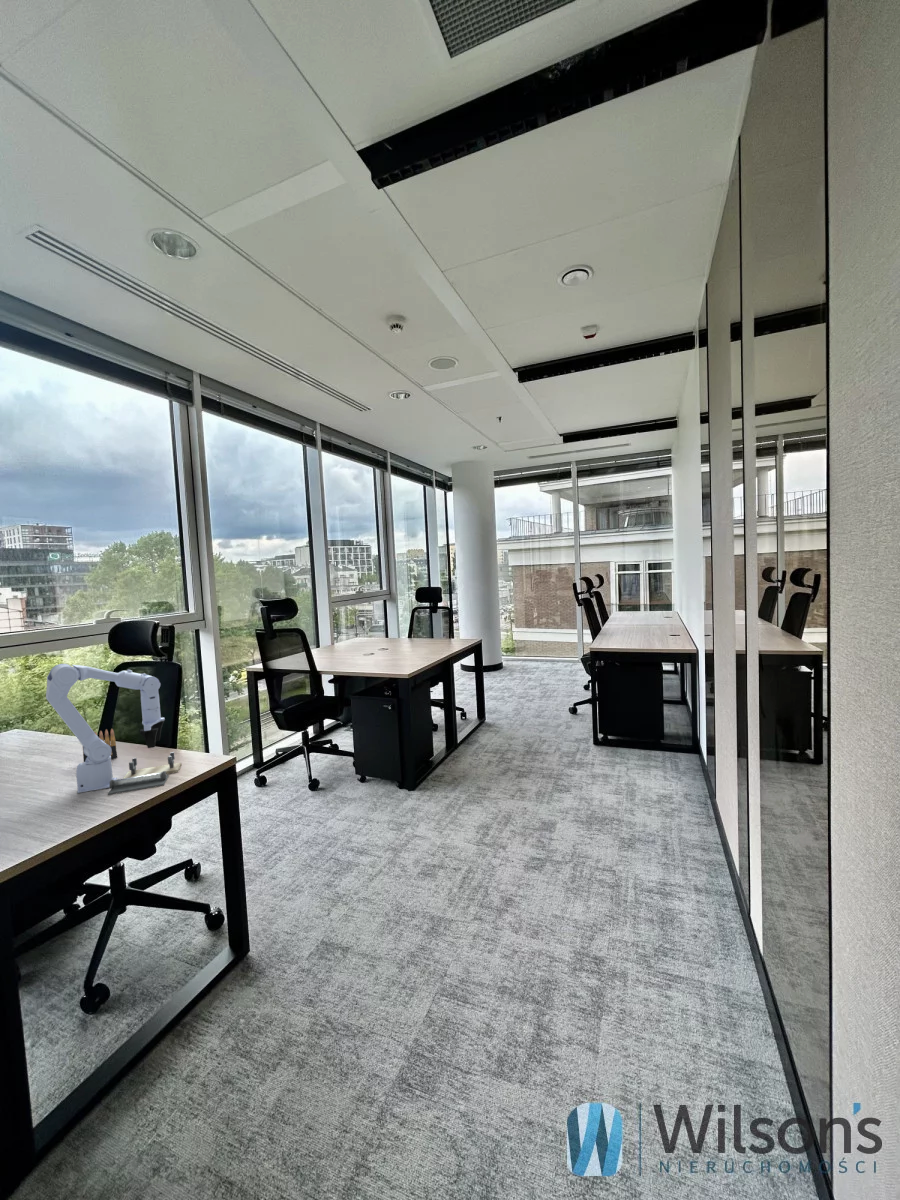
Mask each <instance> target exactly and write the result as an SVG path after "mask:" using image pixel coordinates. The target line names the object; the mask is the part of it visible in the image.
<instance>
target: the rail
mask: <svg viewBox="0 0 900 1200" xmlns="http://www.w3.org/2000/svg"><path fill="white" fill-rule="evenodd" d="M166 775H167V774H166V771H163V772H160V773H154V774H148V775H142V776H136V777H130V778H124V777H123V778H124V779H123V778H117V780H110V788H109V790H111V789H112V788H114V787H120V786H126V785H132V784H138V783H144V782H150V781H155V780H161V779H163V780H165V779H166Z"/></svg>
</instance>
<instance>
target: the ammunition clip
mask: <svg viewBox="0 0 900 1200" xmlns="http://www.w3.org/2000/svg"><path fill="white" fill-rule="evenodd" d="M94 733H95V734H96V735H97V736H98V735H99V736H98V737H99V738H100V739H101V740H103V741H104V742H105V743H106V744H108V745H109V746H110V747H111V749H112V752H111V755H110V756H111V760H114V759H117V758H118V752H117V743H116V737H115V732H114V729H113V728H111V729H110V735H109V731H108V729H107V728H106V729H105V731H104V735H103V731H102V730H100V731H99V734H98V733H97V731H94ZM82 755H83V763H84V762H85V761H86V758H87V756H86V755H85V754H84V752H83V751H82Z"/></svg>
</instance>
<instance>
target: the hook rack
mask: <svg viewBox="0 0 900 1200" xmlns="http://www.w3.org/2000/svg"><path fill="white" fill-rule="evenodd" d="M175 758H176V757H175V751H171V752H170V753H169V756H167V764H164V765H157V766H152V767H145V768H138V769H137V766H138V760H137V759H138V758H137V757H133V758H132V759H131V761H130V762H128V767H129V770H128V771H127V773H126V774H125V775H124V777H123V778H122V779H124V778H130V777H136V776H142V775H148V774H154V773H160V772H163V771H166V775H169V774H174V773H179V771H180V769H181V767H182V762H176V763H175Z"/></svg>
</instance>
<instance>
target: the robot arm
mask: <svg viewBox="0 0 900 1200" xmlns="http://www.w3.org/2000/svg"><path fill="white" fill-rule="evenodd" d="M87 679H95V680H101V681H109V682H114V683H115V685H116V686H117V687H119V688H126V689H131V690H140V703H141V704H140V706H141V716H142V717H141V718H142V722H141V724H142V726H143V728H141V729H140V730H139V733H140V735H141V736H142V737H143V739H144V742H145V745H146V748H147V749H151V748H153V749H154V748H155V747H156V742H159V741H160V740H161V733H162V730H163V729H162V727H163V725H164V722H165V720H166V719H165V717H162V714H161V704H160V694H159V689H160V687H161V685H162V684H161V682H160V680H159V678H157V677H155V676H154V675H153V676H152V675H149V674H147V673H145V672H142V673H139V672H138V673H137V672H135V671H134V672H133V670H131V669H127V670H121V671H119V672H114V671H110V670H105V669H101V668H97V667H92V666H89V665H79V664H71V665H70V664H67V663H60V664H55V666H53V667H52V668H51V669H50V671H49V673H48V675H47V676H46V691H45V699H46V701H47V702H48V703H49V704H50V706H51V707H52V708H53V709H54V711H55V712H56V713H57V715H59V718H61V719H62V721H63V723H65V724H66V726H67V727H68V728H69V730H70V731H71V732H72V733H73V735H74V736H75V738H77V740H78V741H79V743H80V744H81V746H82V753H83V752H84V754H85V755H86V756H87V758H86V761H85V762H84V761H83V762H79V763H78V764H77V767H76V773H75V774H76V785H77V791H76V793H77V794H80V793H81V794H82V793H86V792H91V791H97V790H98V791H99V790H103V789H110V780H117V779H118V777H114V776H113V768H112V767H113V765H112V759H111V756H110V755H112V754H111V752H112V749H111V747H110V746H109V745H108V744H106V743H105V740H104V741H103V740H101V739H100V738H99V736H98V734H97V735H96V734H95V731H94V730H93V729H92V728H91V726H90V725H89V723H88V722H87V720H85V718H84V717H83V716H82V715H81V714H80V713H81V712H79V711H78V709H77V708H76V706H74V704H73V702H71V700H70V699H69V697H68V695H69V692H70V690H71V688H72V687H73V686H74V685H75V684H76V683H77V682H78V680H79V682H82V681H84V680H87Z"/></svg>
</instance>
